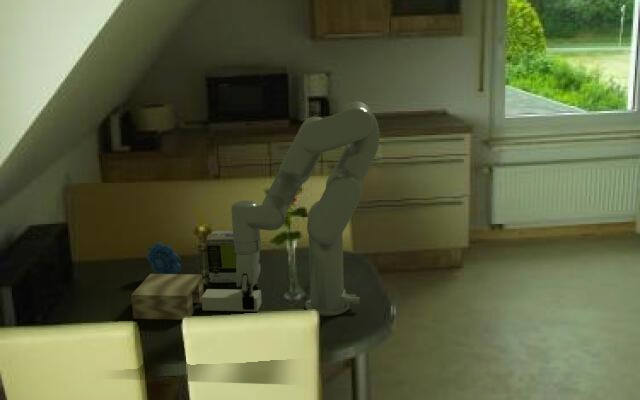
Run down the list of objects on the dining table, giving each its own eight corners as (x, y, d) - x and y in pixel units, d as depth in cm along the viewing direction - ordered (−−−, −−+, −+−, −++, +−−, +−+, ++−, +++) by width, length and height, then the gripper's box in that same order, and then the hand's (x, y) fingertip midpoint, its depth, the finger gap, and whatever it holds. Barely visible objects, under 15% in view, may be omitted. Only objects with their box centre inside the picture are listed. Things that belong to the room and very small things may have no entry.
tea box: (261, 272, 231) (258, 229, 227) (255, 283, 221) (252, 239, 218) (216, 271, 233) (213, 229, 229) (208, 283, 223) (205, 238, 219)
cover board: (261, 302, 205) (260, 290, 204) (257, 311, 200) (256, 298, 199) (207, 301, 207) (207, 289, 206) (202, 310, 201) (201, 297, 200)
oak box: (203, 296, 212) (202, 274, 210) (188, 319, 197) (186, 295, 195) (152, 296, 214) (150, 273, 212) (133, 318, 199) (131, 294, 197)
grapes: (142, 281, 226) (139, 246, 223) (152, 273, 232) (149, 239, 229) (176, 283, 223) (173, 248, 220) (185, 276, 229) (182, 241, 226)
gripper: (240, 235, 206) (244, 292, 211) (226, 255, 190) (231, 316, 195) (265, 235, 206) (269, 292, 210) (254, 255, 189) (258, 317, 194)
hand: (251, 303), depth 202 cm, fingers closed on cover board, 6 cm apart
